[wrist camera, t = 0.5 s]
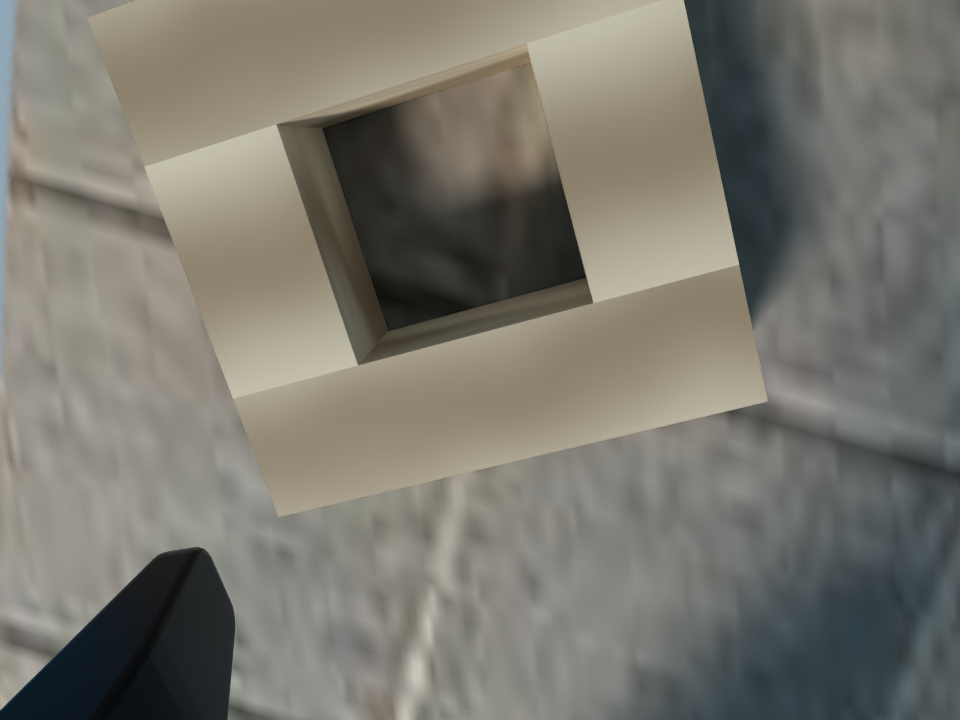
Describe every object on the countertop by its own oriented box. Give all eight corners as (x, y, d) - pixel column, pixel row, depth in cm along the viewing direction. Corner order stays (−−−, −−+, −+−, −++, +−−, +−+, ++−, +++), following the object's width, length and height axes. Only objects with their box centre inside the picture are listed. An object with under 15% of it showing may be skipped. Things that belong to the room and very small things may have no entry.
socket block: (732, 360, 21) (767, 401, 17) (318, 461, 23) (278, 517, 19) (627, -122, 18) (645, -183, 15) (165, 40, 20) (87, 17, 16)
